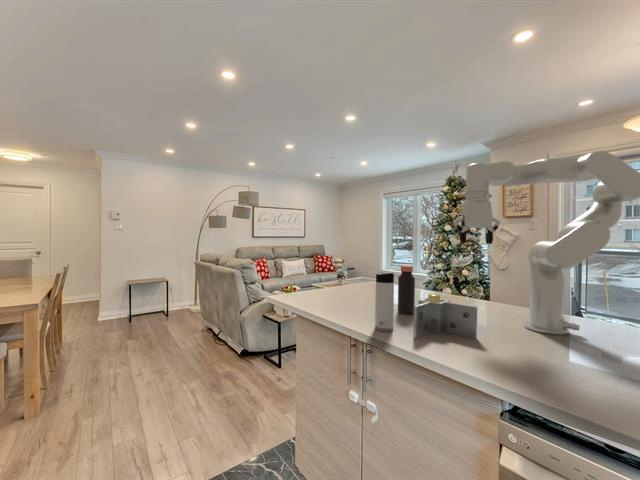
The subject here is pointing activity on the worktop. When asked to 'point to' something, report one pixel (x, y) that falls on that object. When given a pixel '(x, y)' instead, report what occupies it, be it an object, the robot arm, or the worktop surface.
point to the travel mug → (384, 302)
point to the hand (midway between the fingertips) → (476, 243)
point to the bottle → (406, 290)
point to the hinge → (444, 318)
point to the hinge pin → (434, 298)
